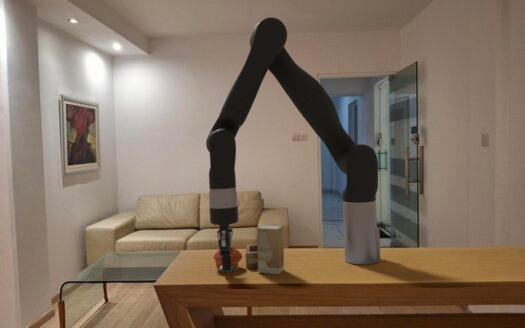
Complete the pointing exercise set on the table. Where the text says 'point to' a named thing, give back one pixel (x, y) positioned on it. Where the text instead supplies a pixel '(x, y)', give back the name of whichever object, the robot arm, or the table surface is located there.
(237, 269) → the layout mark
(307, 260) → the table surface
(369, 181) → the robot arm
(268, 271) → the skincare box
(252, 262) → the open wooden box
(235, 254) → the pot
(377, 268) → the table surface
